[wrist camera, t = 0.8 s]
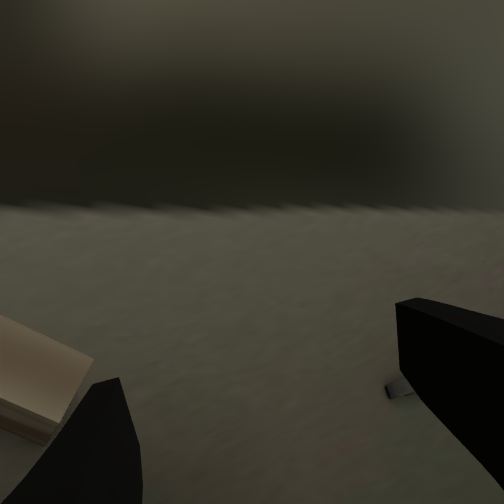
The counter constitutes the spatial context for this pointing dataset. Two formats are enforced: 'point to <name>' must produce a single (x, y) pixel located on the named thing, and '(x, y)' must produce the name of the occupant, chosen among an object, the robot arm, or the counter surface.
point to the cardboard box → (36, 381)
